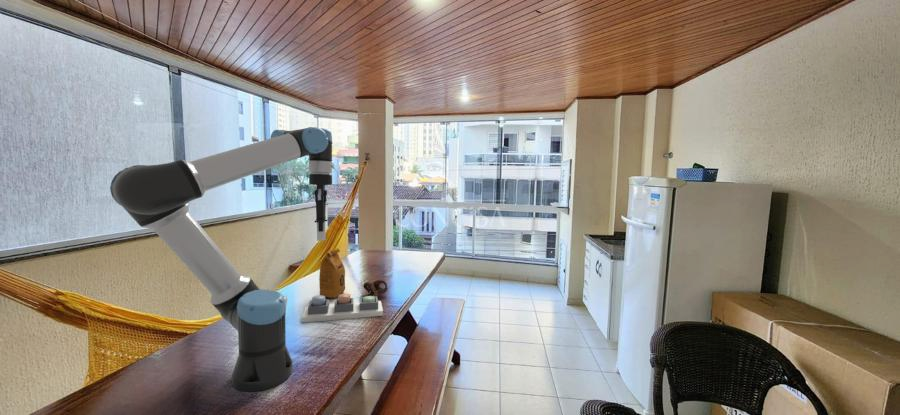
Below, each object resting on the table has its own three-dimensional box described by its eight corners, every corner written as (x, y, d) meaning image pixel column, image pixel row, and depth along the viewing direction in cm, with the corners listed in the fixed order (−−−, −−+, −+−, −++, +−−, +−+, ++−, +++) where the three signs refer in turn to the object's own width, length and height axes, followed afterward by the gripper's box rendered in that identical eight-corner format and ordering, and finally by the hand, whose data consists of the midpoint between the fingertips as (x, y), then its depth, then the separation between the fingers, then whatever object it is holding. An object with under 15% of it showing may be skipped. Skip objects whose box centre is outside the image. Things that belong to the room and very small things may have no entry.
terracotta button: (337, 305, 139) (337, 298, 138) (338, 301, 144) (338, 294, 143) (350, 304, 140) (350, 297, 140) (350, 300, 145) (350, 293, 145)
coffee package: (348, 291, 169) (348, 248, 167) (335, 300, 157) (335, 253, 155) (330, 289, 171) (330, 246, 169) (316, 298, 158) (315, 252, 157)
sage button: (362, 307, 142) (362, 300, 141) (362, 303, 146) (362, 296, 146) (375, 306, 143) (375, 299, 143) (374, 302, 148) (374, 295, 148)
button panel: (302, 322, 132) (302, 310, 132) (306, 310, 144) (306, 299, 143) (382, 315, 141) (383, 303, 140) (380, 305, 152) (380, 294, 152)
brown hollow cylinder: (387, 291, 172) (390, 280, 168) (383, 305, 164) (386, 294, 160) (364, 285, 171) (366, 274, 167) (358, 299, 163) (361, 287, 158)
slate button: (311, 307, 136) (311, 300, 136) (312, 302, 141) (312, 295, 141) (324, 306, 137) (324, 299, 137) (325, 301, 142) (325, 294, 142)
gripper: (330, 173, 113) (331, 243, 115) (333, 174, 126) (333, 236, 128) (306, 173, 111) (307, 244, 113) (311, 173, 124) (312, 237, 126)
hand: (321, 240), depth 121 cm, fingers closed
